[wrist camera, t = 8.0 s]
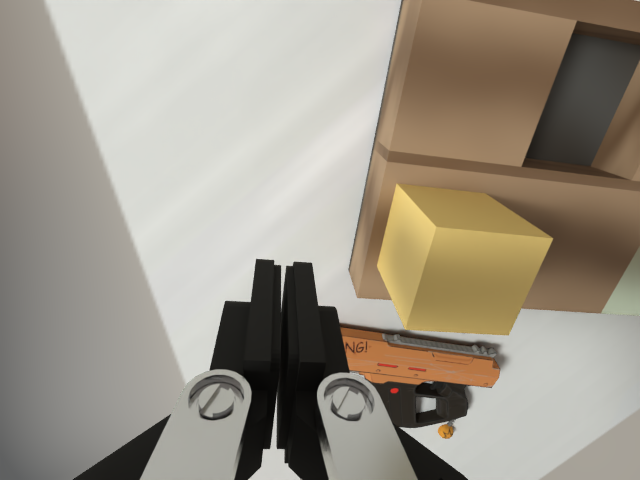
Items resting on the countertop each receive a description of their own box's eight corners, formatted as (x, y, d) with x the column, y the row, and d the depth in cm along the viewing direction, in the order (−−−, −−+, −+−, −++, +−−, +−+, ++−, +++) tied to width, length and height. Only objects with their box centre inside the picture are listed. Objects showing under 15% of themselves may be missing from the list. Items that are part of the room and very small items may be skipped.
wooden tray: (665, 293, 26) (746, 342, 21) (348, 269, 22) (364, 321, 18) (820, 56, 19) (983, 54, 15) (406, -24, 16) (453, -57, 12)
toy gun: (267, 432, 27) (298, 334, 22) (269, 405, 29) (297, 309, 24) (454, 448, 29) (517, 365, 25) (444, 422, 31) (500, 340, 27)
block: (457, 272, 20) (508, 335, 15) (376, 266, 19) (405, 329, 14) (485, 193, 18) (553, 238, 13) (396, 183, 17) (436, 226, 13)
